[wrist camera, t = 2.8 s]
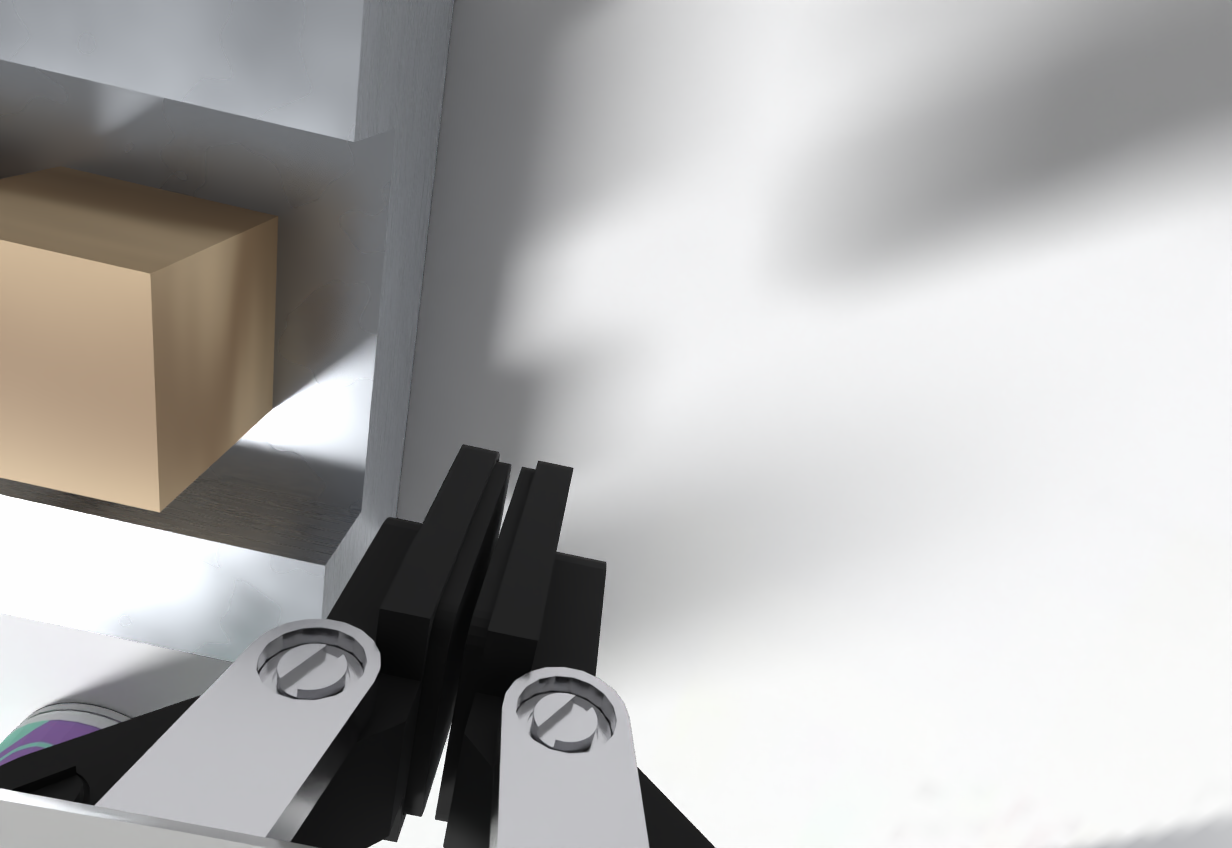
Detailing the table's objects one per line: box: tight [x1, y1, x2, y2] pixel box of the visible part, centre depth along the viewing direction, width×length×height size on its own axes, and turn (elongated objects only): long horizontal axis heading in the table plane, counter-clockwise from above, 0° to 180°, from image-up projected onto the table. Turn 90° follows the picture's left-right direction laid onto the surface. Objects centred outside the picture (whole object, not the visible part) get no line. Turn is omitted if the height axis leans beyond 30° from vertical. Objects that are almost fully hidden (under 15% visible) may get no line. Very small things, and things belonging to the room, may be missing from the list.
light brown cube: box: [0, 166, 278, 512], centre depth 14 cm, size 4×4×4 cm
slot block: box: [0, 0, 454, 662], centre depth 16 cm, size 14×14×5 cm
